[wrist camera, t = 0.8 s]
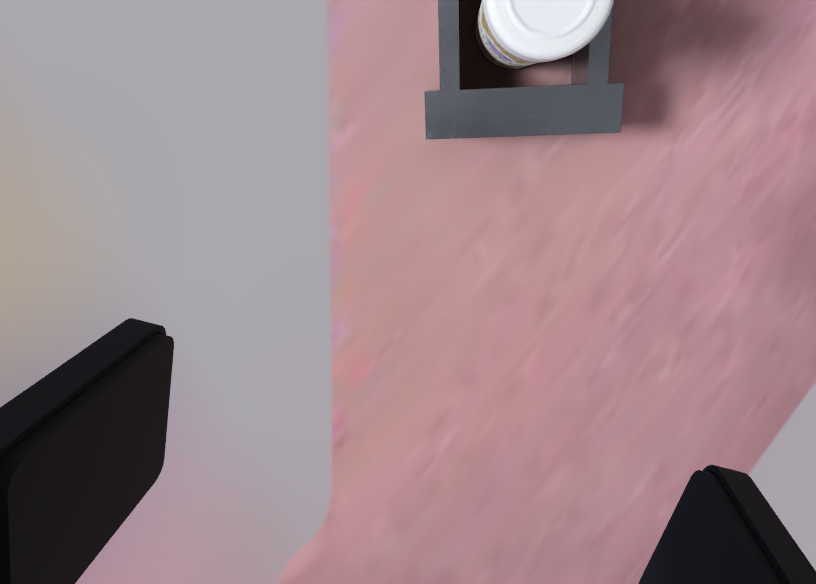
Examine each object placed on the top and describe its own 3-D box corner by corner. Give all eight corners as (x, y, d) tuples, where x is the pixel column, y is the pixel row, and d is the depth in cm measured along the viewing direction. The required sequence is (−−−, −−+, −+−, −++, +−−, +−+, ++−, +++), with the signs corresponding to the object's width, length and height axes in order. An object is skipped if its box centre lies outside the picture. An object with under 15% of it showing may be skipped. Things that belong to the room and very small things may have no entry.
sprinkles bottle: (460, 47, 33) (461, 22, 21) (500, -35, 32) (526, -114, 19) (530, 84, 34) (573, 83, 21) (573, 6, 32) (646, -47, 20)
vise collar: (614, -96, 30) (639, -125, 26) (600, 126, 34) (620, 132, 30) (423, -82, 31) (418, -108, 27) (430, 133, 35) (425, 139, 31)
